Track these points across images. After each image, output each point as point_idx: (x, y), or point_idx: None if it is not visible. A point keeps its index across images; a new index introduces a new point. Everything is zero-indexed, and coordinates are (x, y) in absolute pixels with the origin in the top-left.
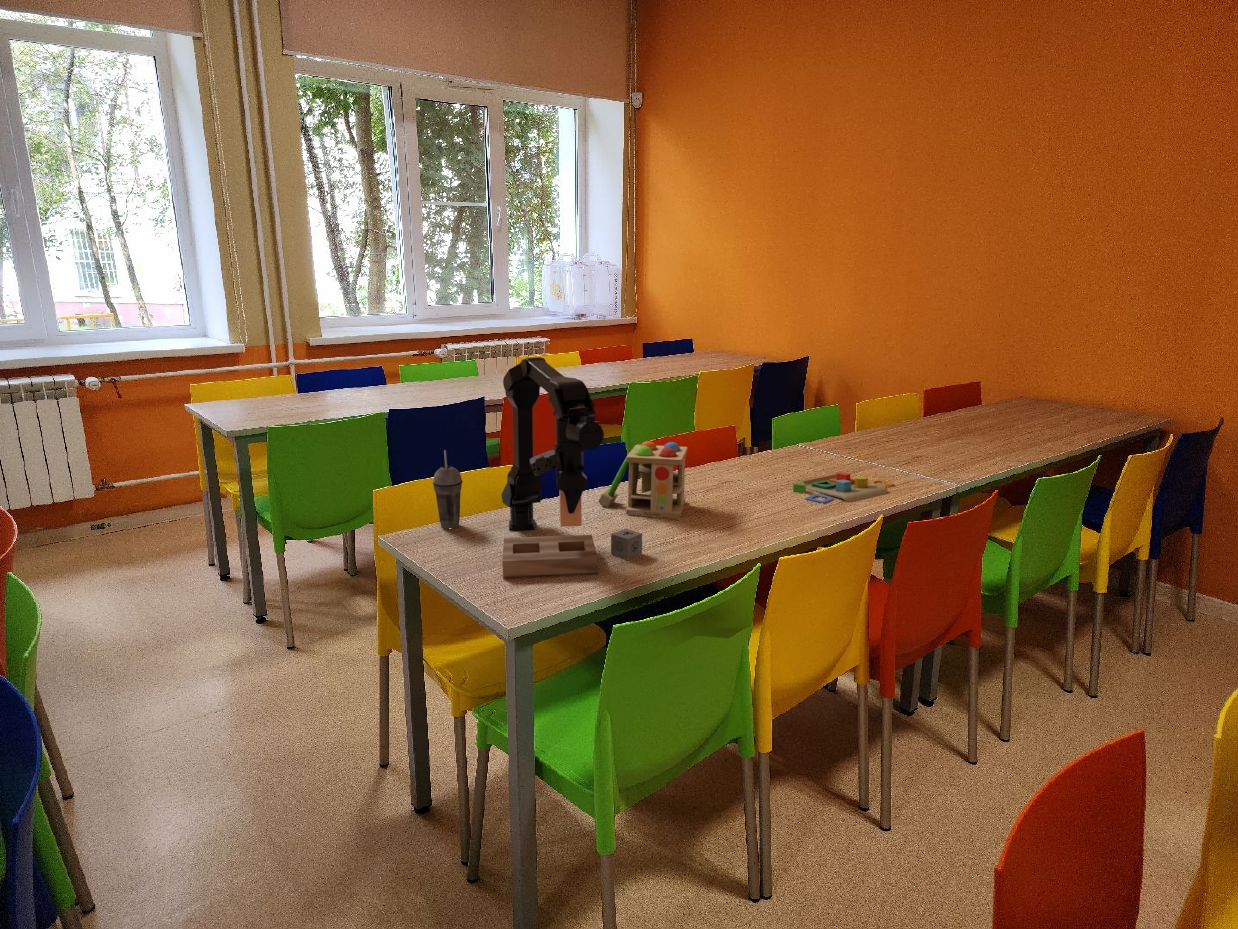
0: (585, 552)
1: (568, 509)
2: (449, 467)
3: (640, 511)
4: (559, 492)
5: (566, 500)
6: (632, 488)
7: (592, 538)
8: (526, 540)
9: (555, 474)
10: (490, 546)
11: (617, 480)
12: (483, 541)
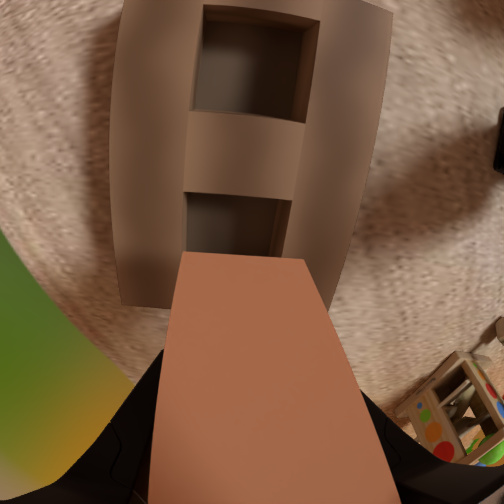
0: (162, 279)
1: (148, 369)
2: None
3: (440, 375)
4: (344, 410)
5: (111, 423)
6: (477, 390)
7: None
8: (348, 80)
9: (496, 490)
10: (431, 15)
11: None
12: (463, 17)
